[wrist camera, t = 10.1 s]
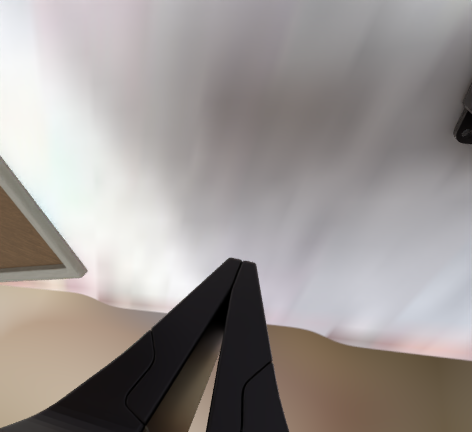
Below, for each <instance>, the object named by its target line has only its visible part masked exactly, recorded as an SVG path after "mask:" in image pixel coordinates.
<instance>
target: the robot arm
mask: <svg viewBox="0 0 472 432" xmlns="http://www.w3.org/2000/svg"><path fill="white" fill-rule="evenodd" d="M463 104H464V106H465V110H464V112H463V114H462V116H461V118H460V120H459V122H458V124H457V126H456V128H455V130H454V137H455V138H456V139H457V140H458V141H459V142H461V143H465V144H472V84H471V86H470V88H469V90H468V92H467V95H466V97H465V99H464V101H463ZM468 129H470V133H469V134H468V135H466V136H461V135H462V133H463V131H465V130H468ZM219 352H220V355H219ZM218 355H219V361H218V366H217V372H216V378H215V383H214V389H213V394H212V400H211V406H210V412H209V417H208V423H207V428H206V432H289V429H288V426H287V423H286V419H285V416H284V412H283V408H282V404H281V400H280V397H279V392H278V387H277V382H276V377H275V371H274V366H273V363H272V355H271V349H270V343H269V337H268V332H267V325H266V319H265V314H264V308H263V302H262V296H261V290H260V284H259V278H258V273H257V267H256V264H255V263H254V262H249V261H243V262H242V260H240V259H235V258H228V259H227V260H226V261H225V262H224V263H223V264H222V265H221V266H220V267H218V268H217V269H216V270H215V271H214V272H213V273H212V274H211V275H210V276H208V277H207V278H206V279H205V280H204V281H203V282H202V283H201V284H200V285H199V286H197V287H196V288H195V289H194V290H193V291H192V292H191V293H190V294H189V295H188V296H186V297H185V298H184V299H183V300H182V301H181V302H180V303H179V304H178V305H176V306H175V307H174V308H173V309H172V310H171V311H170V312H169V313H168V314H167V315H165V317H163V318H162V319H161V320H160V321H159V322H158V323H157V324H156V325H154V326H153V327H152V329H151V330H149V331H148V332H146V333H145V334H144V335H143V336H142V337H141V338H140V339H139V340H138V341H136V343H134V344H133V345H132V346H131V347H129V348H128V349H127V350H126V351H125V352H124V353H122V354H121V355H120V356H118V357H117V358H116V359H115V360H113V361H112V362H111V363H109V364H108V365H107V366H105V367H104V368H103V369H101V370H100V371H99V372H97V373H96V374H95V375H93V376H92V377H91V378H89V379H88V380H87V381H85V382H84V383H82V384H81V385H80V386H79V387H77V388H76V389H74V390H73V391H72V392H70V393H69V394H67V395H66V396H65V397H63V398H62V399H61V400H59V401H58V402H57V403H55V404H53V405H52V406H50V407H49V408H47V409H45V410H44V411H42V412H40V413H38V414H36V415H34V416H31V417H29V418H27V419H24V420H22V421H19V422H16V423H13V424H11V425H8V426H5V427H2V428H0V432H188V431H189V428H190V426H191V423H192V421H193V418H194V415H195V413H196V410H197V408H198V405H199V403H200V400H201V398H202V395H203V393H204V390H205V387H206V385H207V383H208V380H209V377H210V375H211V372H212V370H213V367H214V365H215V362H216V360H217V357H218Z"/></svg>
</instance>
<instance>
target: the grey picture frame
mask: <svg viewBox="0 0 472 432" xmlns="http://www.w3.org/2000/svg"><path fill="white" fill-rule="evenodd" d="M86 272H87V269H86V268H85V266H84V265H83V264H82V262H81V261H80V260H79V258H78V257H77V256H76V255H75V253H74V252H73V251H72V249H71V248H70V247H69V245H68V244H67V243H66V241H65V240H64V239H63V237H62V236H61V235H60V234H59V232H58V231H57V230H56V228H55V227H54V226H53V224H52V223H51V222H50V220H49V219H48V218H47V216H46V215H45V214H44V213H43V211H42V210H41V209H40V207H39V206H38V205H37V203H36V202H35V201H34V199H33V198H32V197H31V196H30V194H29V193H28V192H27V190H26V189H25V188H24V186H23V185H22V184H21V182H20V181H19V180H18V178H17V177H16V176H15V175H14V173H13V172H12V171H11V169H10V168H9V167H8V165H7V164H6V163H5V161H4V160H3V159H2V157H1V156H0V282H13V281H33V280H52V279H72V278H81V277H83V276H84V275H85V273H86Z"/></svg>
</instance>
